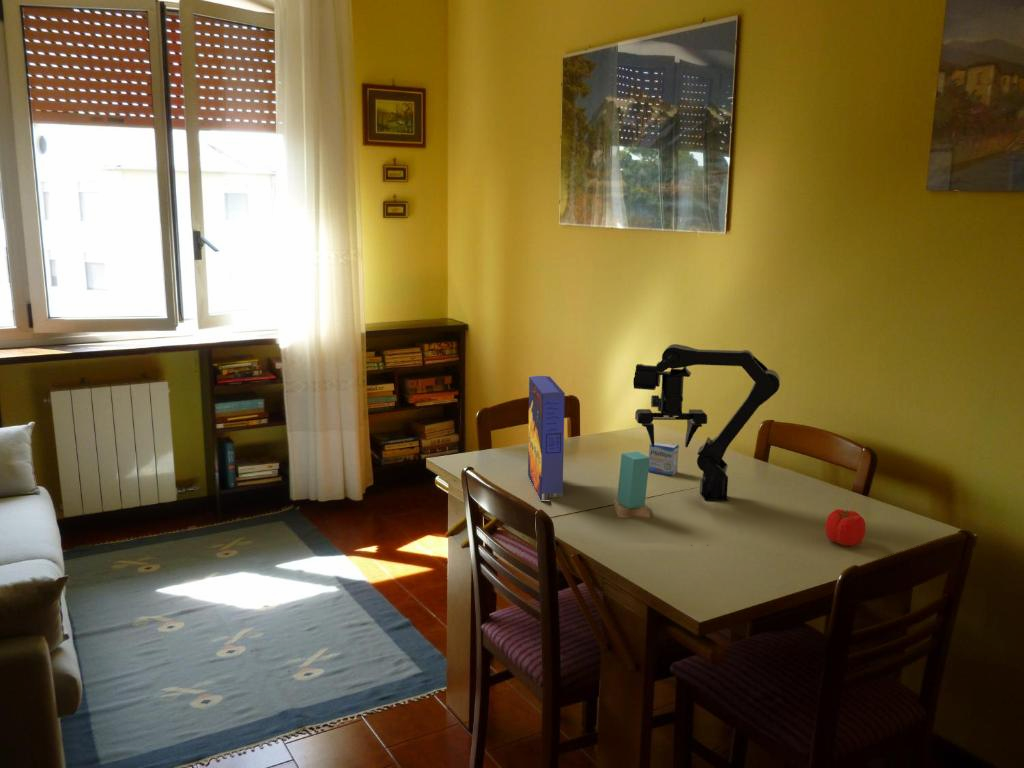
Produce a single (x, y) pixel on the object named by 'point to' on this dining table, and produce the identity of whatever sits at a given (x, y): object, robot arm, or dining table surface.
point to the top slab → (631, 510)
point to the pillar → (633, 479)
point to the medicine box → (663, 458)
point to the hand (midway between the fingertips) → (669, 446)
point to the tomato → (845, 527)
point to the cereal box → (546, 437)
